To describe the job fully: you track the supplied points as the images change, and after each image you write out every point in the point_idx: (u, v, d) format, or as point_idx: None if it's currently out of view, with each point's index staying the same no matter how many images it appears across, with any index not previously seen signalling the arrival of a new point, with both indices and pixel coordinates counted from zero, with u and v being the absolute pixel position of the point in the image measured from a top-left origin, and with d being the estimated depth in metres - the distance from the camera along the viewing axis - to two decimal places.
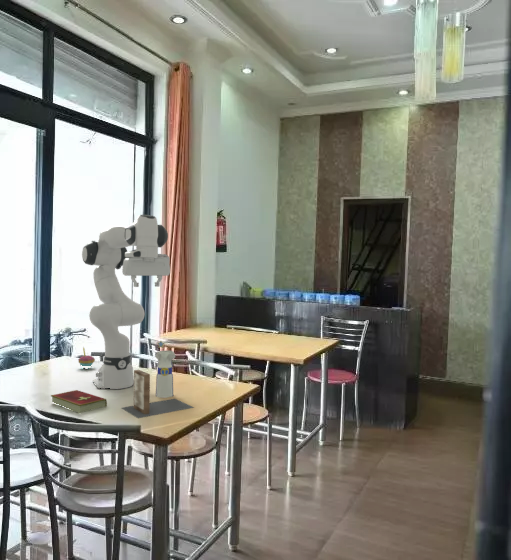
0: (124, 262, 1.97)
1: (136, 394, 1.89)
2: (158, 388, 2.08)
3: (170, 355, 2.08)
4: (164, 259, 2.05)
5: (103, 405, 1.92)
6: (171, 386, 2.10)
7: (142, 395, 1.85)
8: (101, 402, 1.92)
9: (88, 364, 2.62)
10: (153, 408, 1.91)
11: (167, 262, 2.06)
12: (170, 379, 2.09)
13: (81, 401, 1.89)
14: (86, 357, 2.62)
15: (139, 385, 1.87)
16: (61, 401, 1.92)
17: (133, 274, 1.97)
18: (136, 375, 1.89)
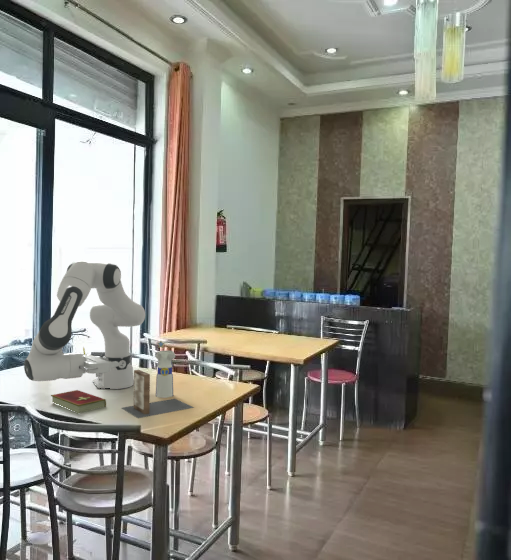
0: None
1: (136, 394, 1.89)
2: (158, 388, 2.08)
3: (170, 355, 2.08)
4: (88, 372, 1.67)
5: (102, 405, 1.92)
6: (171, 386, 2.10)
7: (142, 395, 1.85)
8: (100, 402, 1.91)
9: None
10: (153, 408, 1.91)
11: (93, 373, 1.67)
12: (170, 379, 2.09)
13: (80, 401, 1.88)
14: None
15: (139, 385, 1.87)
16: (61, 401, 1.93)
17: None
18: (136, 375, 1.89)
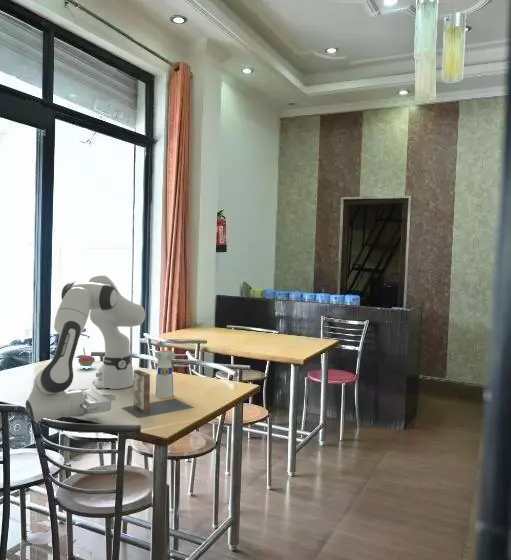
0: None
1: (136, 394, 1.89)
2: (158, 388, 2.08)
3: (170, 355, 2.08)
4: None
5: None
6: (171, 386, 2.10)
7: (142, 395, 1.85)
8: None
9: (88, 364, 2.62)
10: (153, 408, 1.91)
11: None
12: (170, 379, 2.09)
13: None
14: (86, 357, 2.62)
15: (139, 385, 1.87)
16: None
17: None
18: (136, 375, 1.89)
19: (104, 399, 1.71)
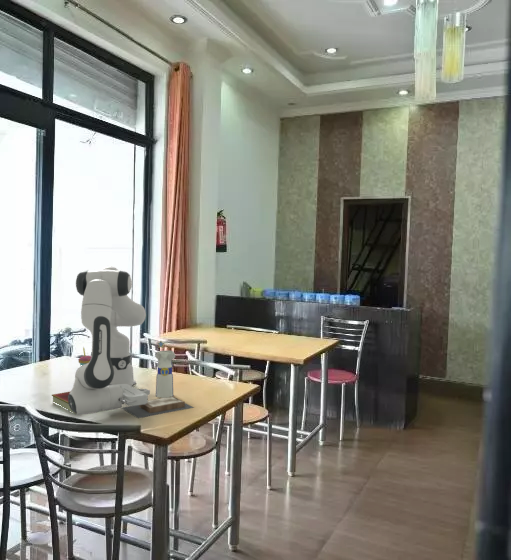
0: None
1: (156, 400, 1.94)
2: (158, 388, 2.08)
3: (170, 355, 2.08)
4: None
5: None
6: (171, 386, 2.10)
7: (164, 403, 1.91)
8: None
9: None
10: None
11: None
12: (170, 379, 2.09)
13: None
14: (86, 357, 2.62)
15: (167, 400, 1.95)
16: (60, 401, 1.93)
17: None
18: (172, 398, 1.99)
19: (141, 393, 1.80)
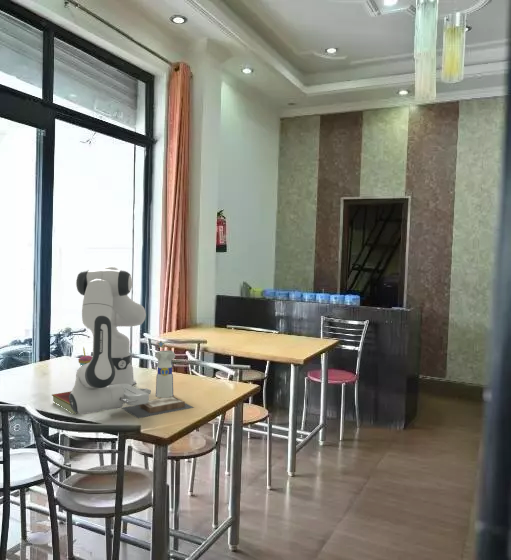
0: None
1: (156, 400, 1.94)
2: (158, 388, 2.08)
3: (170, 355, 2.08)
4: (128, 404, 1.77)
5: None
6: (171, 386, 2.10)
7: (164, 403, 1.91)
8: None
9: None
10: None
11: None
12: (170, 379, 2.09)
13: None
14: (86, 357, 2.62)
15: (167, 400, 1.95)
16: (59, 401, 1.93)
17: None
18: (172, 398, 1.99)
19: (142, 393, 1.80)
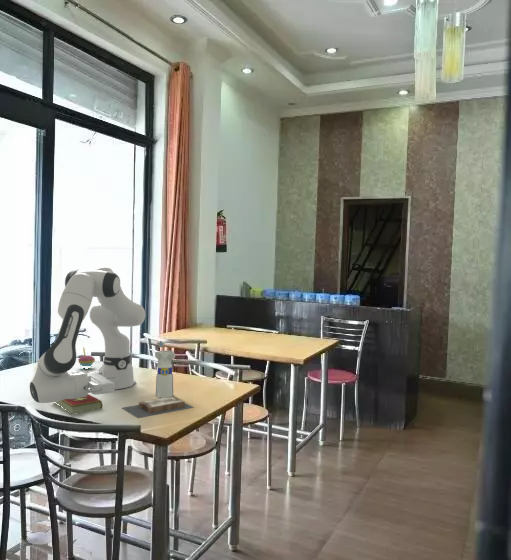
0: None
1: (156, 400, 1.94)
2: (158, 388, 2.08)
3: (170, 355, 2.08)
4: (93, 393, 1.69)
5: (98, 407, 1.90)
6: (171, 386, 2.10)
7: (164, 403, 1.91)
8: (96, 404, 1.89)
9: (88, 364, 2.62)
10: None
11: None
12: (170, 379, 2.09)
13: (76, 402, 1.88)
14: (86, 357, 2.62)
15: (167, 400, 1.95)
16: (59, 401, 1.93)
17: None
18: (172, 398, 1.99)
19: (108, 381, 1.72)
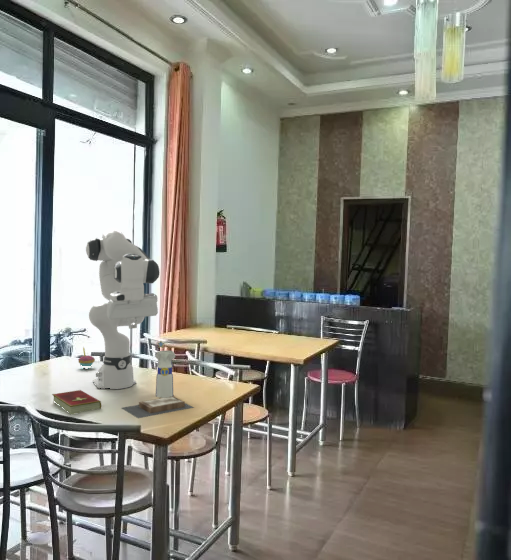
0: (108, 305, 1.91)
1: (156, 400, 1.94)
2: (158, 388, 2.08)
3: (170, 355, 2.08)
4: (151, 299, 1.97)
5: (97, 407, 1.90)
6: (171, 386, 2.10)
7: (164, 403, 1.91)
8: (95, 404, 1.89)
9: (88, 364, 2.62)
10: None
11: (154, 302, 1.98)
12: (170, 379, 2.09)
13: (75, 402, 1.87)
14: (86, 357, 2.62)
15: (167, 400, 1.95)
16: (59, 401, 1.93)
17: (117, 318, 1.91)
18: (172, 398, 1.99)
19: None
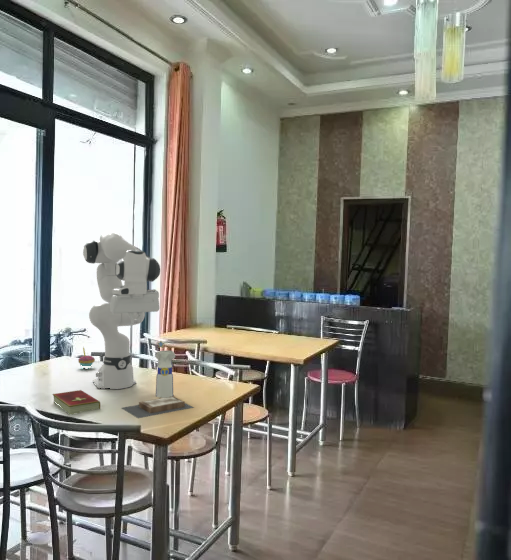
0: (112, 299, 1.92)
1: (156, 400, 1.94)
2: (158, 388, 2.08)
3: (170, 355, 2.08)
4: (153, 295, 2.00)
5: (96, 407, 1.89)
6: (171, 386, 2.10)
7: (164, 403, 1.91)
8: (94, 404, 1.89)
9: (88, 364, 2.62)
10: None
11: (156, 298, 2.01)
12: (170, 379, 2.09)
13: (74, 402, 1.87)
14: (86, 357, 2.62)
15: (167, 400, 1.95)
16: (59, 400, 1.93)
17: (121, 312, 1.92)
18: (172, 398, 1.99)
19: None
